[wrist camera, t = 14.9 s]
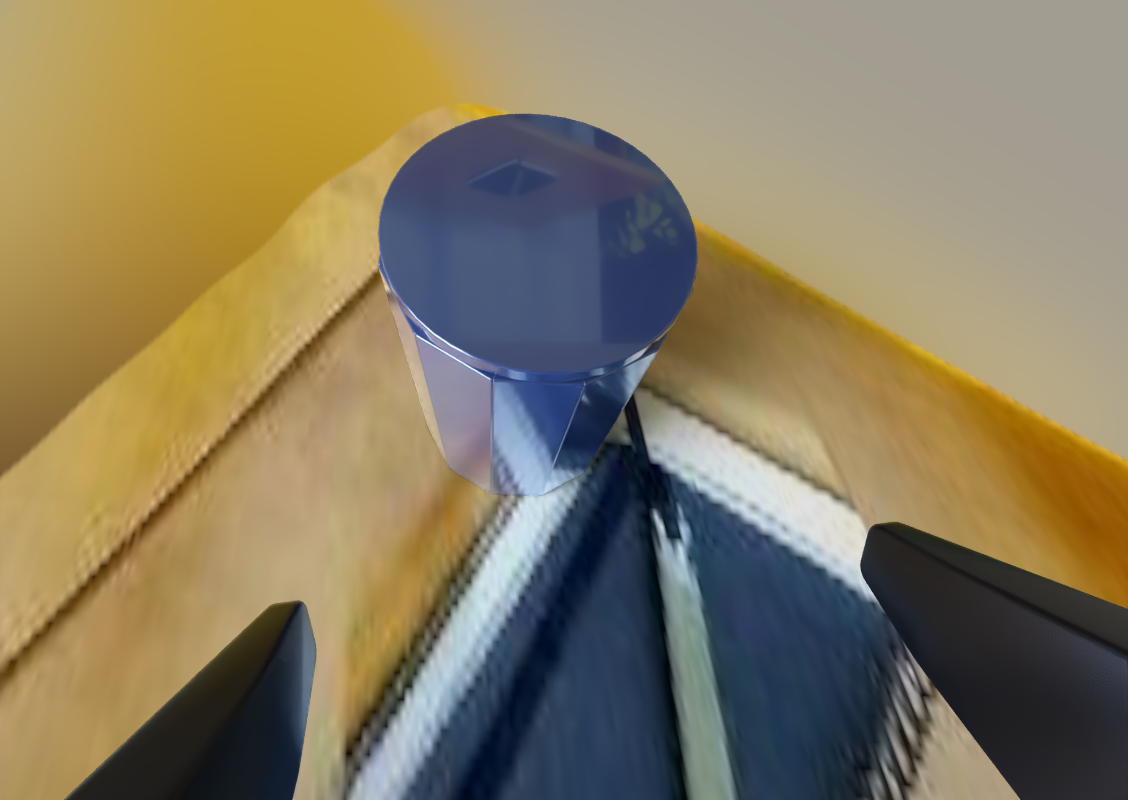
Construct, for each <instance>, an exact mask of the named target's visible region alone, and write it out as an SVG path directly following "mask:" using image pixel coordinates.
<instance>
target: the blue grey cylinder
mask: <svg viewBox="0 0 1128 800" xmlns="http://www.w3.org/2000/svg"><path fill="white" fill-rule="evenodd" d="M378 238H379V250H380V256H379V262H378V265H379V270H380V274H381V277H382V280H383V283H384V287H385V290H386V293H387V296H388V300H389V303H390V306H391V309H392V313H393V316H394V319H395V322H396V325H397V329H398V332H399V335H400V338H401V342H402V345H403V348H404V351H405V355H406V358H407V361H408V364H409V368H410V371H411V374H412V377H413V380H414V384H415V387H416V390H417V393H418V397H419V400H420V403H421V406H422V410H423V413H424V416H425V419H426V423H427V426H428V428H429V430H430V432H431V434H432V436H433V438H434V440H435V442H436V444H437V446H438V448H439V450H440V452H441V454H442V456H443V458H444V460H445V462H446V464H447V466H448V467H449V469H451V470H452V471H454V472H455V473H457V474H459V475H460V476H462V477H464V478H465V479H467V480H468V481H470V482H472V483H473V484H475V485H476V486H478V487H480V488H481V489H483V490H485V491H486V492H488V493H489V494H494V495H527V496H541V495H544V494H546V493H548V492H550V491H551V490H553V489H555V488H557V487H559V486H561V485H563V484H564V483H566V482H568V481H570V480H572V479H574V478H576V477H577V476H579V475H581V474H583V473H584V472H585V470H586V468H587V467H588V465H589V464H590V462H591V460H592V459H593V457H594V455H595V454H596V452H597V451H598V449H599V447H600V446H601V444H602V442H603V441H604V439H605V438H606V436H607V434H608V433H609V431H610V429H611V428H612V426H613V424H614V423H615V421H616V420H617V418H618V416H619V415H620V413H621V411H622V410H623V408H624V407H625V405H626V403H627V402H628V400H629V398H630V397H631V395H632V393H633V392H634V390H635V389H636V387H637V385H638V384H639V382H640V380H641V379H642V377H643V376H644V374H645V372H646V371H647V369H648V367H649V366H650V364H651V363H652V361H653V359H654V358H655V356H656V354H657V353H658V351H659V349H660V348H661V346H662V344H663V343H664V341H665V339H666V337H667V336H668V334H669V332H670V331H671V329H672V327H673V325H674V324H675V322H676V320H677V319H678V317H679V315H680V314H681V312H682V310H683V309H684V307H685V305H686V303H687V301H688V300H689V298H690V296H691V295H692V293H693V289H694V288H693V285H694V281H695V278H696V272H697V263H698V250H697V239H696V234H695V229H694V225H693V222H692V219H691V216H690V213H689V211H688V209H687V206H686V205H685V203H684V201H683V199H682V197H681V195H680V194H679V192H678V190H677V189H676V188H675V186H674V185H673V183H672V182H671V180H669V178H668V177H667V176H666V175H665V174H664V172H663V171H662V170H661V169H660V168H659V167H658V166H657V165H656V164H655V163H654V162H652V161H651V160H650V159H649V158H648V157H647V156H646V155H644V154H643V153H642V152H640V151H639V150H637V149H636V148H635V147H634V146H632V145H630V144H629V143H627V142H625V141H624V140H622V139H620V138H619V137H617V136H615V135H613V134H611V133H608V132H606V131H604V130H602V129H600V128H597V127H594V126H591V125H588V124H586V123H583V122H579V121H575V120H571V119H567V118H562V117H556V116H550V115H540V114H507V115H499V116H492V117H487V118H483V119H479V120H474V121H471V122H468V123H465V124H463V125H460V126H457V127H455V128H452V129H450V130H448V131H446V132H444V133H442V134H440V135H439V136H437V137H435V138H434V139H432V140H431V141H429V142H428V143H426V144H425V145H424V146H422V147H421V148H420V149H419V150H418V151H417V152H415V153H414V154H413V155H412V156H411V157H410V158H409V159H408V160H407V162H406V163H405V164H404V165H403V166H402V167H401V168H400V170H399V171H398V173H397V174H396V176H395V178H394V179H393V181H392V182H391V184H390V186H389V189H388V191H387V193H386V196H385V198H384V201H383V205H382V209H381V212H380V217H379V229H378Z"/></svg>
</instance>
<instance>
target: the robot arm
mask: <svg viewBox="0 0 1128 800" xmlns="http://www.w3.org/2000/svg"><path fill="white" fill-rule="evenodd" d="M860 568H861V573H862V575H863V578H864V580H865V581H866V583H867V584H868V586H869V587H870V589H871V591H872V592H873V594H874V595H875V597H876V599H877V600H878V602H879V603H880V605H881V607H882V608H883V610H884V611H885V613H886V614H887V616H888V618H889V619H890V621H891V622H892V624H893V626H894V627H895V629H896V630H897V632H898V633H899V635H900V637H901V638H902V640H903V641H904V643H905V645H906V646H907V648H908V649H909V651H910V652H911V654H912V655H913V657H914V658H915V660H916V661H917V663H918V664H919V665H920V667H921V668H922V670H923V671H924V672H925V674H926V675H927V677H928V678H929V679H930V680H931V682H932V683H933V684H934V686H935V687H936V688H937V690H938V691H939V692H940V694H941V695H942V696H943V698H944V699H945V700H946V702H947V703H948V704H949V706H950V707H951V708H952V710H953V711H954V712H955V714H956V715H957V716H958V718H959V719H960V720H961V721H962V723H963V724H964V725H965V727H966V728H967V729H968V731H969V732H970V733H971V735H972V736H973V737H974V739H975V740H976V741H977V743H978V744H979V745H980V747H981V748H982V749H983V751H984V752H985V753H986V755H987V756H988V757H989V759H990V760H991V761H992V762H993V764H994V765H995V766H996V768H997V769H998V770H999V772H1000V773H1001V774H1002V776H1003V777H1004V778H1005V780H1006V781H1007V782H1008V784H1009V785H1010V786H1011V788H1012V789H1013V790H1014V792H1015V793H1016V794H1017V796H1018V797H1019V798H1020V800H1128V609H1126V608H1123V607H1121V606H1118V605H1116V604H1113V603H1110V602H1108V601H1105V600H1102V599H1100V598H1097V597H1094V596H1092V595H1089V594H1087V593H1084V592H1081V591H1079V590H1076V589H1073V588H1071V587H1068V586H1066V585H1063V584H1060V583H1058V582H1055V581H1052V580H1050V579H1047V578H1044V577H1042V576H1039V575H1037V574H1034V573H1031V572H1029V571H1026V570H1023V569H1021V568H1018V567H1016V566H1013V565H1010V564H1008V563H1005V562H1002V561H1000V560H997V559H994V558H992V557H989V556H987V555H984V554H981V553H979V552H976V551H973V550H971V549H968V548H966V547H963V546H960V545H958V544H955V543H952V542H950V541H947V540H944V539H942V538H939V537H937V536H934V535H931V534H929V533H926V532H923V531H921V530H918V529H915V528H913V527H910V526H908V525H905V524H902V523H899V522H888V523H880V524H875V525H873V526H872V527H871V528H870V529H869V532H868V535H867V539H866V543H865V547H864V551H863V554H862V558H861V563H860ZM315 663H316V643H315V639H314V635H313V631H312V627H311V623H310V619H309V615H308V611H307V607H306V605H305V604H304V602H302V601H290V602H283V603H276V604H273V605H271V606H269V607H268V608H267V609H266V610H265V611H264V612H262V613H261V614H260V615H259V616H258V617H257V618H256V619H255V620H254V621H253V622H252V623H251V624H250V625H249V626H248V627H247V628H246V629H244V630H243V631H242V632H241V633H240V634H239V635H238V636H237V637H236V638H235V639H234V640H233V641H232V642H231V643H230V644H229V645H227V646H226V647H225V648H224V649H223V650H222V651H221V652H220V653H219V654H218V655H217V656H216V657H215V658H214V659H213V660H212V661H210V662H209V663H208V664H207V665H206V666H205V667H204V668H203V669H202V670H201V671H200V672H199V673H198V674H197V675H196V676H195V677H193V678H192V679H191V680H190V681H189V682H188V683H187V684H186V685H185V686H184V687H183V688H182V689H181V690H180V691H179V692H178V693H176V694H175V695H174V696H173V697H172V698H171V699H170V700H169V701H168V702H167V703H166V704H165V705H164V706H163V707H162V708H161V709H159V710H158V711H157V712H156V713H155V714H154V715H153V716H152V717H151V718H150V719H149V720H148V721H147V722H146V723H145V724H144V725H142V726H141V727H140V728H139V729H138V730H137V731H136V732H135V733H134V734H133V735H132V736H131V737H130V738H129V739H128V740H127V741H126V742H124V743H123V744H122V745H121V746H120V747H119V748H118V749H117V750H116V751H115V752H114V753H113V754H112V755H111V756H110V757H109V758H107V759H106V760H105V761H104V762H103V763H102V764H101V765H100V766H99V767H98V768H97V769H96V770H95V771H94V772H93V773H92V774H90V775H89V776H88V777H87V778H86V779H85V780H84V781H83V782H82V783H81V784H80V785H79V786H78V787H77V788H76V789H75V790H73V791H72V792H71V793H70V794H69V795H68V796H67V797H66V798H65V799H64V800H292V799H293V795H294V791H295V786H296V782H297V778H298V773H299V768H300V762H301V756H302V749H303V743H304V736H305V729H306V723H307V716H308V710H309V703H310V696H311V690H312V683H313V676H314V670H315Z"/></svg>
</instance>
